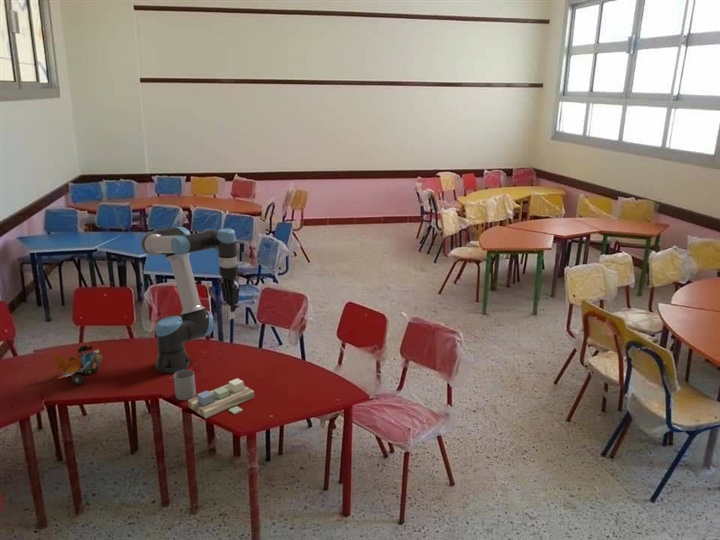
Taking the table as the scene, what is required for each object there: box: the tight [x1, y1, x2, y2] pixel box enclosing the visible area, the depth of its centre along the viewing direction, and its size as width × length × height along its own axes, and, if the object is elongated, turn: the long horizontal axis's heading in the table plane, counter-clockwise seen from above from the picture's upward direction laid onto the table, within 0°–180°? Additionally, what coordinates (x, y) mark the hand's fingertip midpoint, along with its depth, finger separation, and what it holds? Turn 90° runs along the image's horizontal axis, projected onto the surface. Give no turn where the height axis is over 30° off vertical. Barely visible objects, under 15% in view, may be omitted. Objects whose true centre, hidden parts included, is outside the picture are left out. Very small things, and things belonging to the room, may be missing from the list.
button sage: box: [213, 386, 229, 400], centre depth 241 cm, size 4×4×4 cm
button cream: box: [228, 377, 245, 394], centre depth 246 cm, size 4×4×4 cm
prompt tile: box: [228, 405, 243, 415], centre depth 235 cm, size 4×4×1 cm
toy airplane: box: [53, 344, 104, 385], centre depth 260 cm, size 29×23×15 cm
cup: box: [173, 369, 197, 401], centre depth 246 cm, size 8×8×10 cm
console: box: [187, 383, 255, 420], centre depth 242 cm, size 13×24×3 cm, turn 136°
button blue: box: [196, 390, 214, 407], centre depth 236 cm, size 4×4×4 cm
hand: (231, 318), depth 250 cm, fingers closed
